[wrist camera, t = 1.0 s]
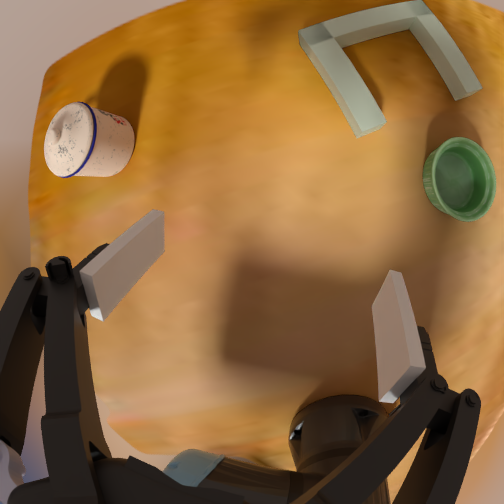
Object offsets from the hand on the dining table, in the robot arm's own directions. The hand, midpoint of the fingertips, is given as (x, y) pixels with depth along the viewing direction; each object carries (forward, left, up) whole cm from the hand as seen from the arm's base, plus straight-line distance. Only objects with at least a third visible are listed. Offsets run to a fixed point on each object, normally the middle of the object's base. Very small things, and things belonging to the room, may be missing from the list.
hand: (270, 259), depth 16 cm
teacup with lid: (+21, +18, -17) cm, 33 cm away
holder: (+12, -20, -17) cm, 29 cm away
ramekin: (-3, -20, -17) cm, 26 cm away
